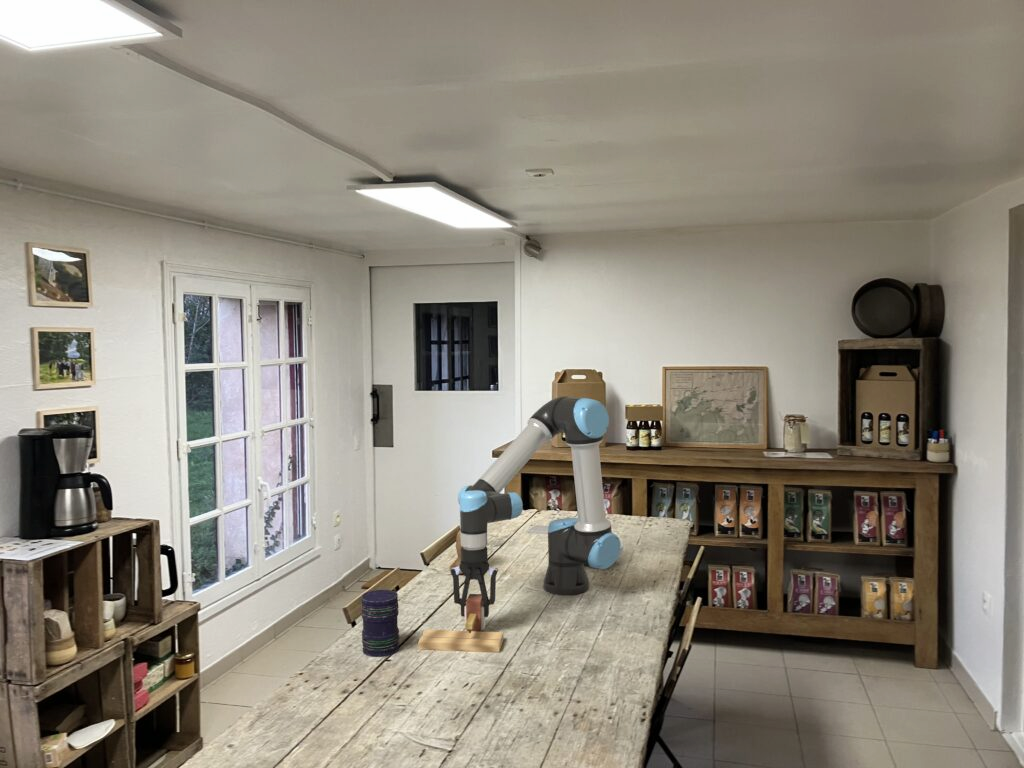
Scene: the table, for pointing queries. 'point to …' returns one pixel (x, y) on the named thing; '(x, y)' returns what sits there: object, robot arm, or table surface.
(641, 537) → the table surface
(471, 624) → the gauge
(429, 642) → the board
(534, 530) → the baseboard
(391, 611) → the storage jar
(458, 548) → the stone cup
